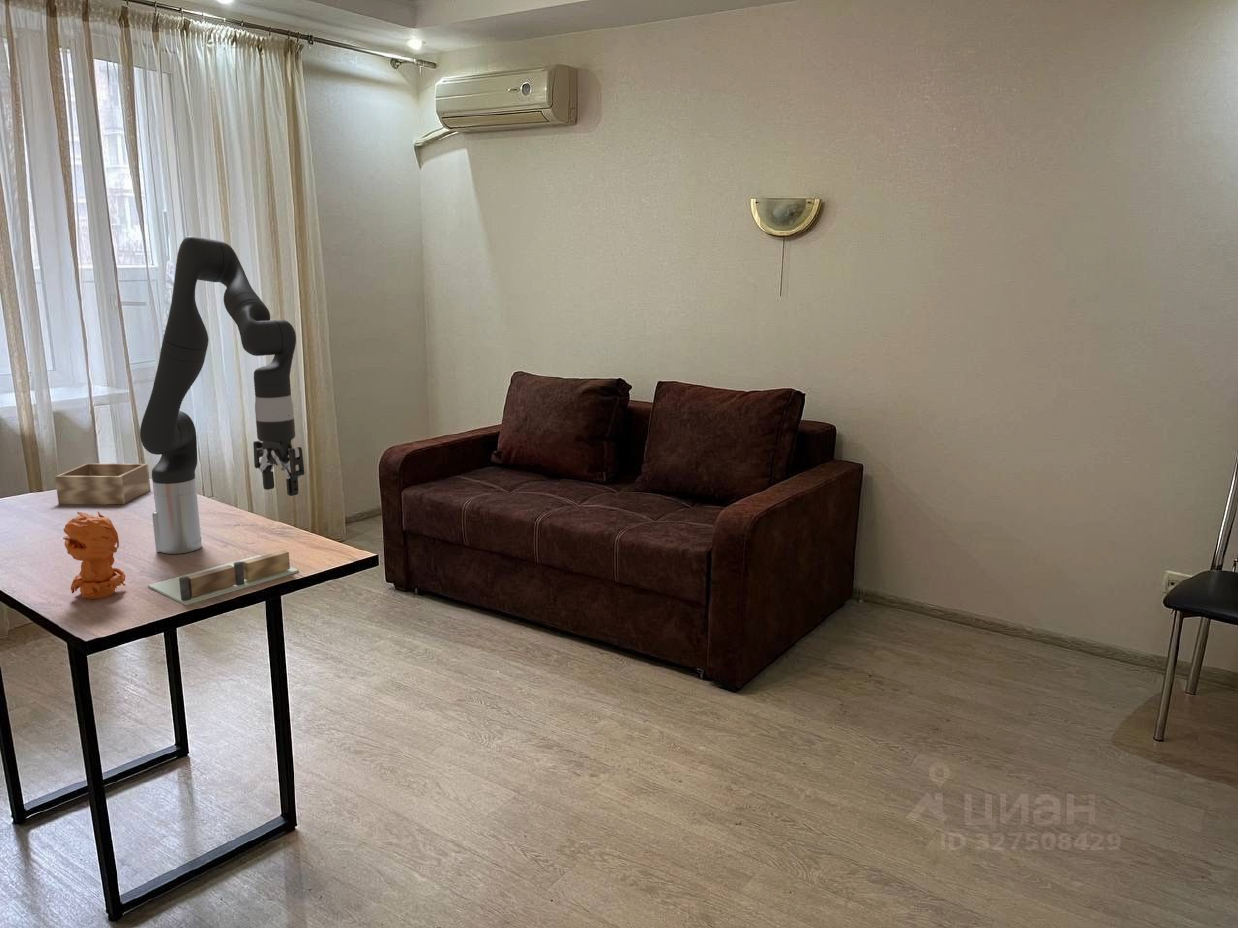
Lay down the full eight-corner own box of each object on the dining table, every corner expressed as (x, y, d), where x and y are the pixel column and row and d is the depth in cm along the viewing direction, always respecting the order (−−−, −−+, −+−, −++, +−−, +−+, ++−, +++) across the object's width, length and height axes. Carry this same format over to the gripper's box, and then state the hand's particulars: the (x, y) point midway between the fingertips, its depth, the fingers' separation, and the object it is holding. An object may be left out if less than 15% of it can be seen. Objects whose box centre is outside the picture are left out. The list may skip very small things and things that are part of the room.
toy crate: (58, 504, 259) (54, 476, 258) (89, 489, 275) (86, 463, 273) (123, 504, 260) (120, 477, 258) (150, 490, 275) (147, 463, 273)
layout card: (185, 605, 188) (185, 602, 188) (148, 587, 198) (147, 584, 198) (298, 571, 208) (298, 569, 208) (259, 556, 218) (259, 554, 218)
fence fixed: (184, 603, 189) (182, 579, 188) (179, 601, 190) (177, 577, 189) (246, 585, 200) (244, 562, 198) (241, 583, 201) (239, 560, 200)
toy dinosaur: (83, 584, 199) (73, 504, 195) (136, 583, 200) (126, 503, 196) (57, 604, 188) (45, 519, 184) (113, 603, 189) (102, 518, 185)
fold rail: (248, 580, 200) (247, 563, 199) (243, 578, 201) (242, 561, 200) (290, 568, 208) (288, 551, 207) (284, 566, 209) (283, 550, 208)
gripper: (311, 418, 192) (316, 493, 195) (270, 410, 200) (276, 483, 204) (279, 423, 186) (285, 501, 189) (239, 415, 194) (245, 490, 198)
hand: (280, 492), depth 197 cm, fingers open, 8 cm apart
